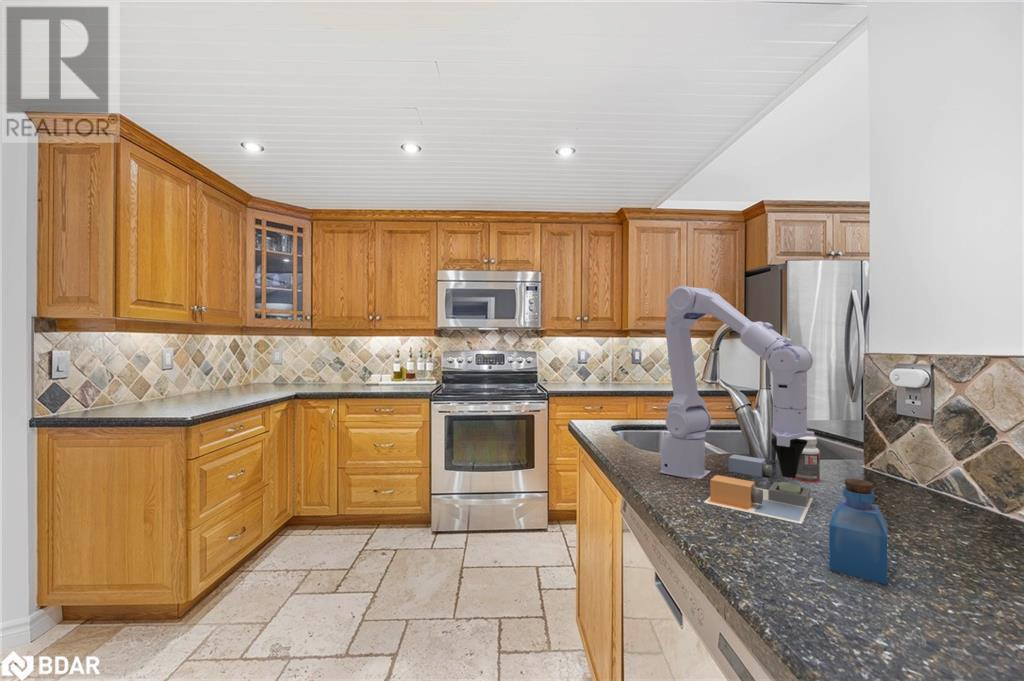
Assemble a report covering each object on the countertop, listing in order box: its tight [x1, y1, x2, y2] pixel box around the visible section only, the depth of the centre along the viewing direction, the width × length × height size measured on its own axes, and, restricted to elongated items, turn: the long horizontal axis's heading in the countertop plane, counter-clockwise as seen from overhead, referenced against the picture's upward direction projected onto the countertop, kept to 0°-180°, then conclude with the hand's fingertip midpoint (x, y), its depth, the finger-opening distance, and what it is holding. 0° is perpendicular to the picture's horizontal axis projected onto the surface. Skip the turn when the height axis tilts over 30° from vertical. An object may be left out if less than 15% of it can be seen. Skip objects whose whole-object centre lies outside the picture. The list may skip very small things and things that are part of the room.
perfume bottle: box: [828, 478, 888, 586], centre depth 63 cm, size 6×6×12 cm
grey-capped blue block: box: [728, 454, 773, 478], centre depth 107 cm, size 8×4×4 cm, turn 49°
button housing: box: [767, 481, 811, 507], centre depth 89 cm, size 6×6×2 cm
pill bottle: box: [791, 436, 821, 484], centre depth 102 cm, size 6×6×10 cm
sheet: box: [703, 487, 814, 525], centre depth 88 cm, size 16×16×1 cm
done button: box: [778, 481, 801, 494], centre depth 89 cm, size 4×4×2 cm
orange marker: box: [709, 474, 763, 509], centre depth 87 cm, size 8×4×4 cm, turn 51°
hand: (789, 476), depth 89 cm, fingers closed
